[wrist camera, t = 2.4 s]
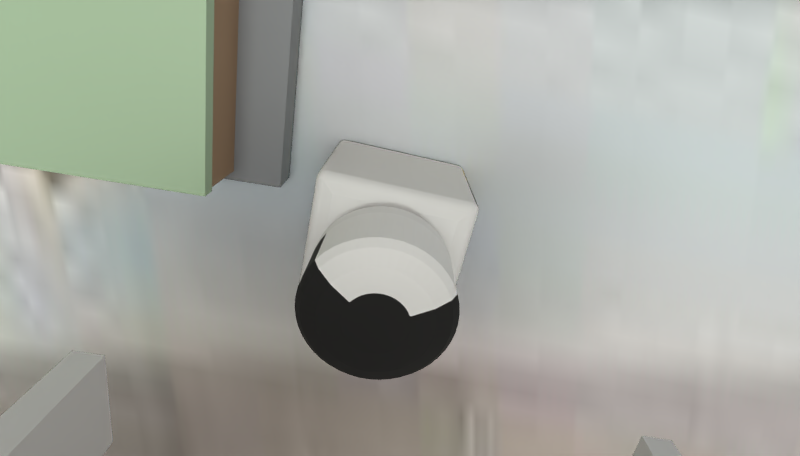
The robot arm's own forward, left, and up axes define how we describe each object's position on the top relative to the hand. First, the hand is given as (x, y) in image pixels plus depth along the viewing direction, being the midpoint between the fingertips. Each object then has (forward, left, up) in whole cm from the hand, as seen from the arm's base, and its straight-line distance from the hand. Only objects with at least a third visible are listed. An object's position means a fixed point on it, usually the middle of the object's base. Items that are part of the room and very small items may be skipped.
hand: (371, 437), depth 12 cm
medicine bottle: (0, 0, -17) cm, 17 cm away
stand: (-14, +7, -17) cm, 23 cm away
